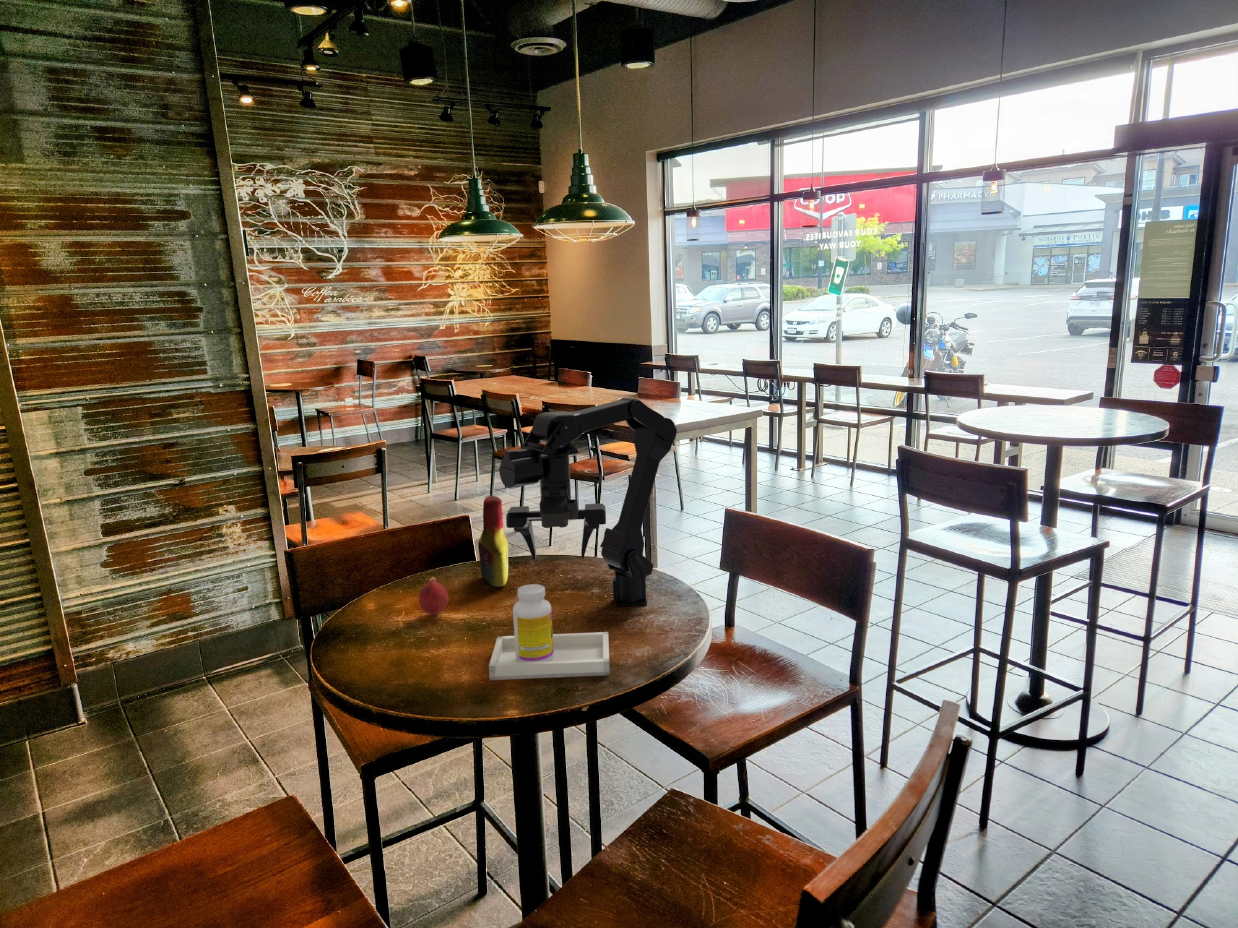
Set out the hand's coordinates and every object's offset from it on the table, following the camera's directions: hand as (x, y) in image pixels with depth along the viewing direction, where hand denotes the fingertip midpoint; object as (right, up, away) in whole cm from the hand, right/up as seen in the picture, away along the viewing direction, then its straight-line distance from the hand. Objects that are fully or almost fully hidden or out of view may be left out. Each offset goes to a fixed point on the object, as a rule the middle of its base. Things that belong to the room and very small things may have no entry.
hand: (558, 558), depth 151 cm
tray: (0, -16, -15) cm, 22 cm away
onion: (-26, -13, +8) cm, 30 cm away
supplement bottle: (-3, -16, -15) cm, 22 cm away
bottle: (-16, -9, +27) cm, 32 cm away
